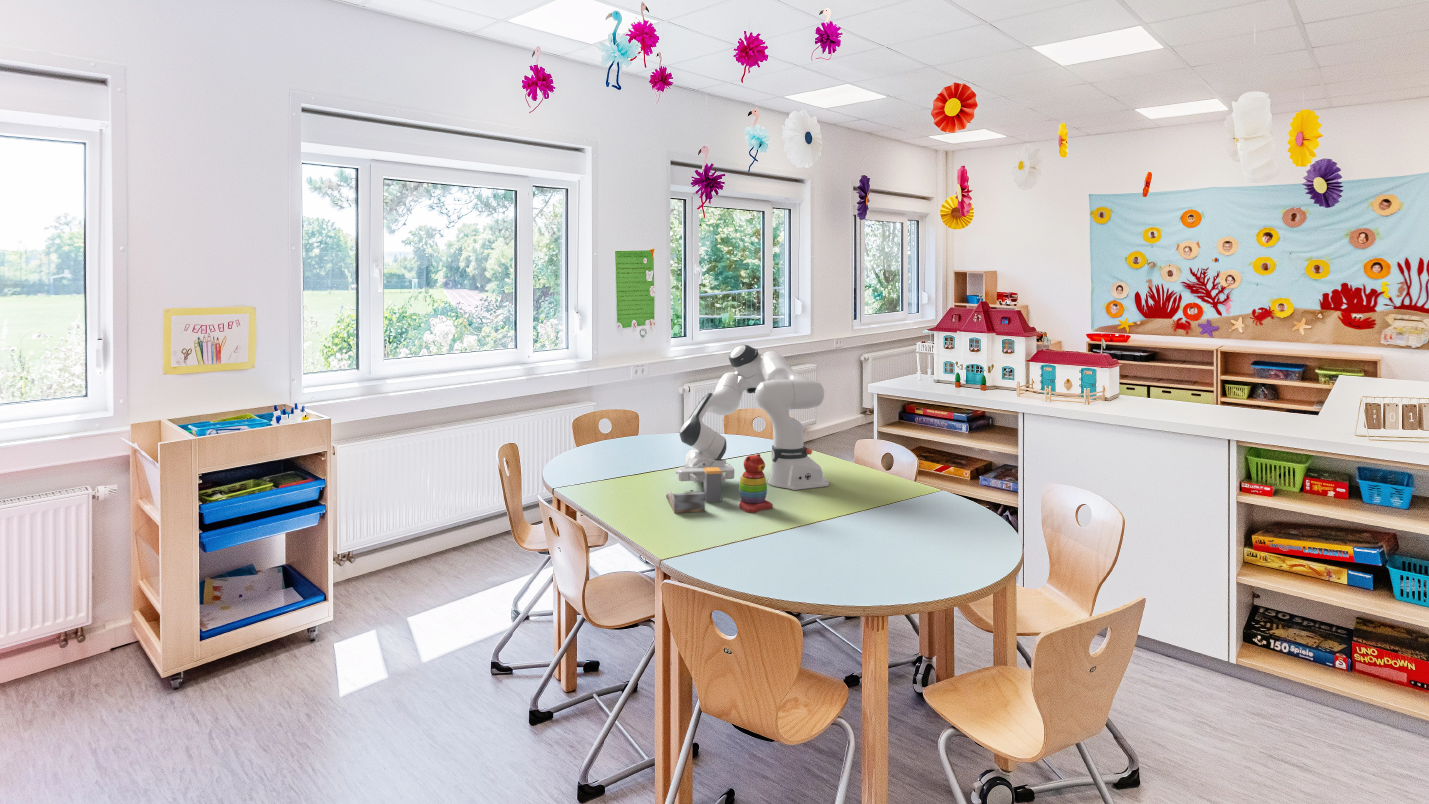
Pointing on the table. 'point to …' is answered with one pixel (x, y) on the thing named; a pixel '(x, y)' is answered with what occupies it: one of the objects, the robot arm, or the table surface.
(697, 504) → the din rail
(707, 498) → the grey tall block
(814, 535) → the table surface
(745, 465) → the stacking bear
